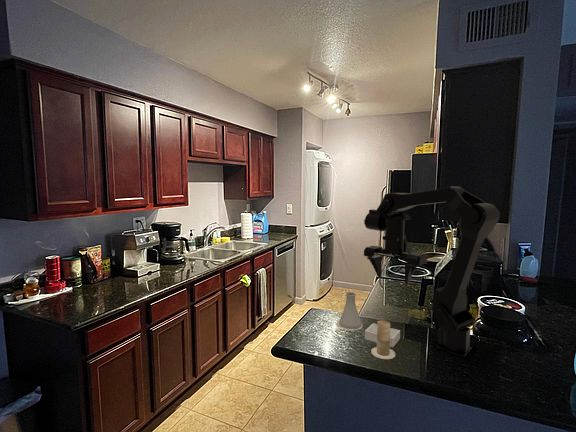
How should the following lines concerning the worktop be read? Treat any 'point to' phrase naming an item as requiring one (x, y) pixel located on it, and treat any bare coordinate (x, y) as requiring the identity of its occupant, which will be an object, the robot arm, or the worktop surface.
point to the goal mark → (347, 328)
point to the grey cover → (372, 334)
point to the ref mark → (390, 356)
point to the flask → (350, 313)
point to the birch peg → (383, 338)
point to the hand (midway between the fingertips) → (393, 281)
